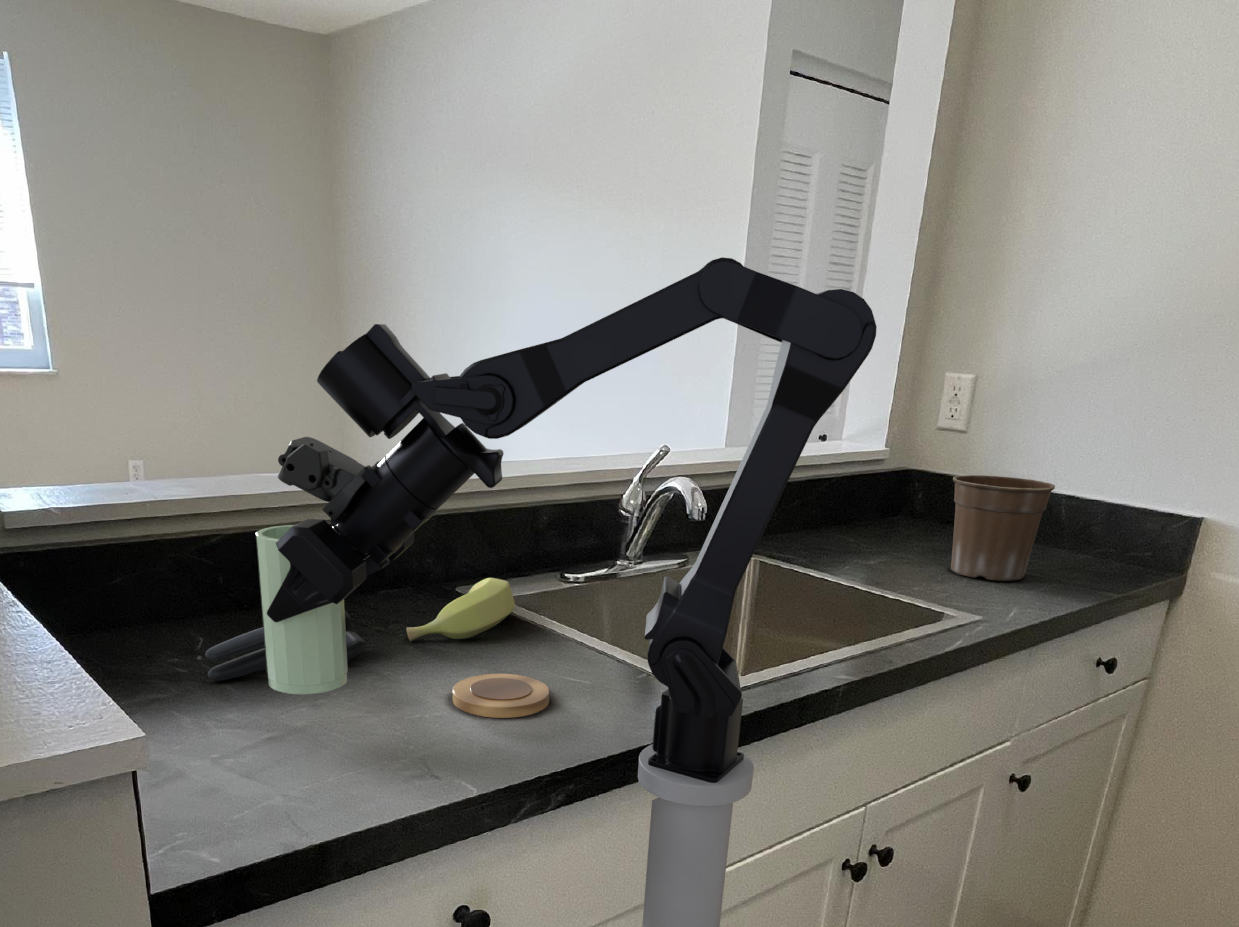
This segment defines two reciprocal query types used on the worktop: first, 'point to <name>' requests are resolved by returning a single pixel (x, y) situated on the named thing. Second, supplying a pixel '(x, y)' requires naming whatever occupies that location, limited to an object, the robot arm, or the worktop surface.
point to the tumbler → (299, 631)
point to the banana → (471, 611)
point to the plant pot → (996, 525)
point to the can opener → (260, 653)
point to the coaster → (500, 695)
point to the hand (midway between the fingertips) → (287, 606)
